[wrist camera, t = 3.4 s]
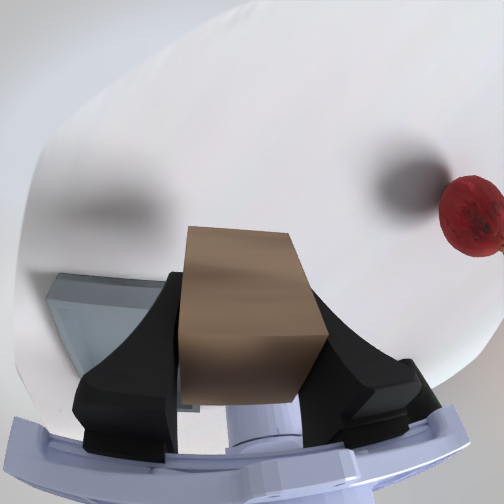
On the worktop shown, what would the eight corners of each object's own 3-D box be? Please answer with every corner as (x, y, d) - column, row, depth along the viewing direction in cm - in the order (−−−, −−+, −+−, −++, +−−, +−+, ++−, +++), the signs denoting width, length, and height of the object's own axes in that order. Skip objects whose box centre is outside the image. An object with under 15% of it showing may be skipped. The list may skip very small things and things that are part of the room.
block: (269, 304, 16) (292, 402, 11) (185, 301, 15) (181, 404, 10) (288, 233, 14) (328, 334, 9) (188, 225, 13) (178, 333, 8)
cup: (367, 391, 38) (392, 462, 28) (375, 365, 33) (408, 447, 23) (412, 375, 38) (441, 440, 28) (425, 346, 33) (463, 420, 23)
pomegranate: (407, 207, 21) (470, 271, 14) (445, 147, 18) (521, 193, 11) (444, 233, 23) (498, 291, 16) (478, 182, 20) (541, 230, 13)
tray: (199, 389, 31) (199, 412, 29) (97, 380, 29) (93, 402, 27) (205, 284, 22) (205, 312, 20) (59, 273, 20) (45, 298, 18)
